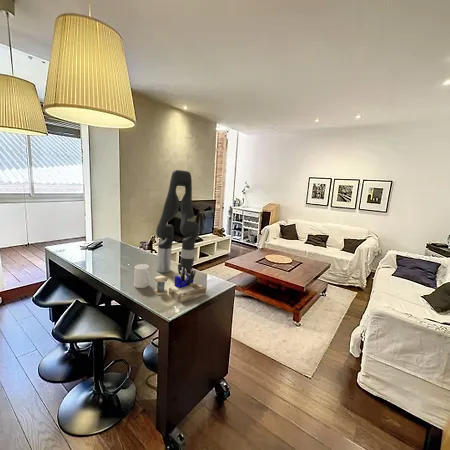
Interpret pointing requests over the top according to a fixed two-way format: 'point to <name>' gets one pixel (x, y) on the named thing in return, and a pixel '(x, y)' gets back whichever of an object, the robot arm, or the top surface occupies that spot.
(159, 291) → the bobbin
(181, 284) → the cable clip
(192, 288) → the notched board
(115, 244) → the top surface
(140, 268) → the mug
